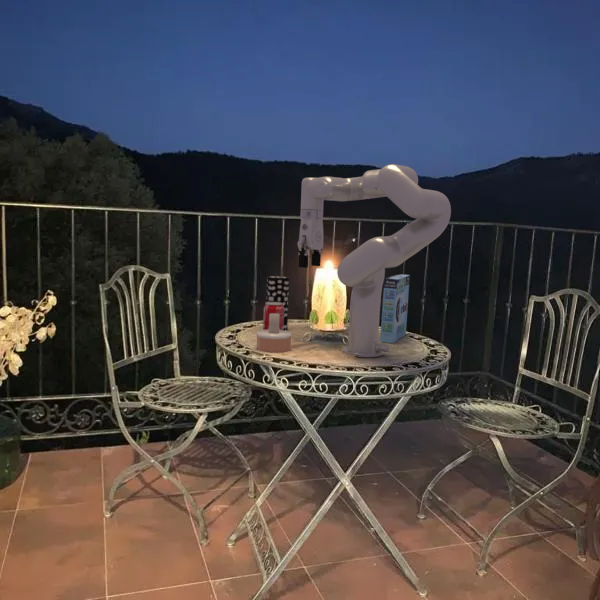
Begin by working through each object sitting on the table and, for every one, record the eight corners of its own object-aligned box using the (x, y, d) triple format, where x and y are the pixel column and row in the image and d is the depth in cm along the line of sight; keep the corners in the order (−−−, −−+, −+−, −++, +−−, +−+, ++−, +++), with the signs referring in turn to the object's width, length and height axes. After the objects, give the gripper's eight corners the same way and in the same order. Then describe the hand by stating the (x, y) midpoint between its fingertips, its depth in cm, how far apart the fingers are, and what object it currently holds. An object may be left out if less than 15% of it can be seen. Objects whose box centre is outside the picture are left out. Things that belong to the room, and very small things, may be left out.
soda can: (284, 338, 222) (285, 302, 221) (281, 342, 215) (283, 304, 214) (264, 337, 223) (265, 301, 221) (261, 341, 216) (262, 303, 214)
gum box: (393, 333, 241) (397, 274, 238) (407, 335, 239) (410, 275, 236) (379, 342, 223) (383, 277, 220) (393, 343, 221) (397, 278, 218)
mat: (321, 347, 210) (321, 344, 210) (308, 352, 201) (308, 350, 201) (294, 343, 214) (294, 341, 214) (280, 348, 205) (280, 346, 205)
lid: (297, 335, 203) (297, 313, 202) (280, 340, 193) (281, 318, 192) (267, 331, 208) (267, 310, 207) (250, 336, 198) (250, 314, 197)
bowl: (294, 350, 203) (295, 335, 203) (279, 356, 194) (280, 340, 194) (267, 346, 208) (267, 331, 207) (251, 351, 199) (252, 336, 198)
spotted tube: (264, 327, 243) (265, 275, 241) (285, 327, 245) (287, 276, 242) (267, 331, 235) (268, 278, 233) (288, 331, 237) (290, 278, 234)
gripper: (310, 215, 201) (308, 268, 203) (332, 216, 216) (330, 266, 218) (289, 214, 204) (287, 267, 206) (312, 215, 219) (310, 264, 222)
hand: (309, 266), depth 212 cm, fingers open, 9 cm apart
